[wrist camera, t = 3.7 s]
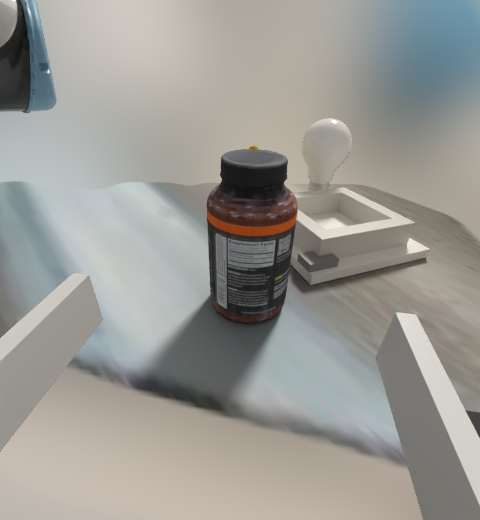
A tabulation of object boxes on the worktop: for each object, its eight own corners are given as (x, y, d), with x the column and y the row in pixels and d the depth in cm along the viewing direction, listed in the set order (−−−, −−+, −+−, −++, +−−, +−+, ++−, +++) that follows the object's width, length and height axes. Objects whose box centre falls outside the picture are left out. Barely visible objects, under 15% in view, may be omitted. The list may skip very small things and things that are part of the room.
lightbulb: (341, 211, 39) (362, 123, 33) (294, 207, 40) (306, 120, 34) (335, 195, 44) (352, 116, 39) (294, 192, 45) (304, 114, 39)
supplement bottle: (223, 273, 26) (223, 142, 20) (288, 285, 25) (309, 149, 19) (198, 317, 21) (188, 162, 15) (278, 335, 20) (301, 174, 14)
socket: (248, 220, 36) (250, 193, 34) (340, 207, 40) (345, 182, 39) (310, 285, 25) (317, 250, 23) (426, 257, 30) (439, 226, 28)
